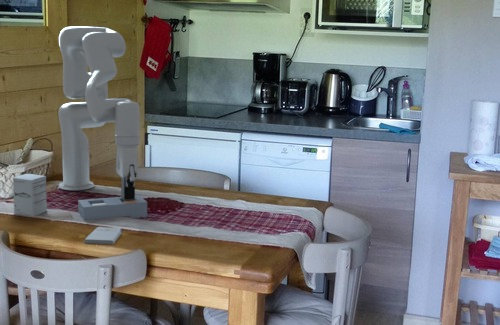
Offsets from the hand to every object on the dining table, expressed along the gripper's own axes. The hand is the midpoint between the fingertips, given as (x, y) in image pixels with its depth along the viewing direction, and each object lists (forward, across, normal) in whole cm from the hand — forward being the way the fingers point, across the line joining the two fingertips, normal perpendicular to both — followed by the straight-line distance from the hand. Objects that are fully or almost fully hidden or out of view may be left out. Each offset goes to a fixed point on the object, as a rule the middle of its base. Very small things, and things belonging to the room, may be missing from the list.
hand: (128, 196), depth 213 cm
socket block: (+6, 0, -5) cm, 8 cm away
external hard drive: (+7, +20, -12) cm, 24 cm away
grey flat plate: (+6, -1, -21) cm, 22 cm away
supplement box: (+6, -9, -29) cm, 31 cm away
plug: (+3, 0, 0) cm, 3 cm away
